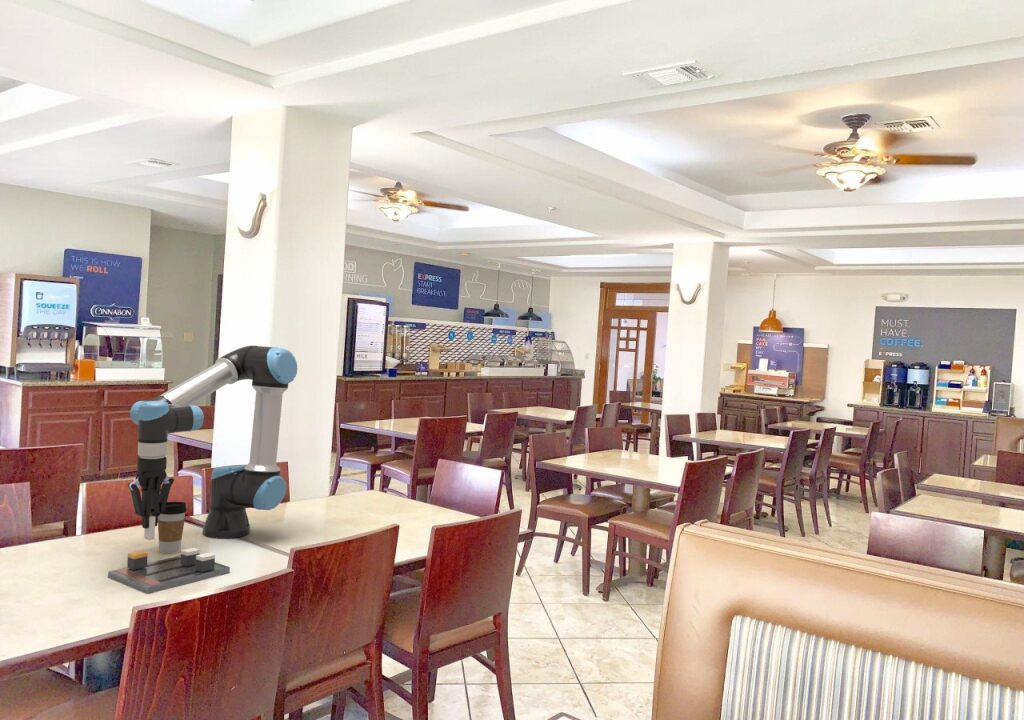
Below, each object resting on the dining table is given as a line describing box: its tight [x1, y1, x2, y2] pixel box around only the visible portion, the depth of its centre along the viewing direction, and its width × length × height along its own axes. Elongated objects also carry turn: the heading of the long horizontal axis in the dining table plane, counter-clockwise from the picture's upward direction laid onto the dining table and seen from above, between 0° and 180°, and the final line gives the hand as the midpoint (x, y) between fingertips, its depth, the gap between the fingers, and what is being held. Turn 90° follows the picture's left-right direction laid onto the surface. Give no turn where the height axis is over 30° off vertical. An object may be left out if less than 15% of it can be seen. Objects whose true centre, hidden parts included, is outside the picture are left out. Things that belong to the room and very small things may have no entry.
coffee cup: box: [157, 501, 187, 555], centre depth 237 cm, size 8×8×15 cm
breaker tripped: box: [126, 550, 149, 570], centre depth 214 cm, size 4×3×4 cm
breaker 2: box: [195, 552, 216, 572], centre depth 216 cm, size 4×3×4 cm
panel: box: [107, 555, 231, 595], centre depth 215 cm, size 25×19×2 cm
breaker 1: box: [180, 547, 201, 566], centre depth 220 cm, size 4×3×4 cm
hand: (149, 538), depth 217 cm, fingers closed
